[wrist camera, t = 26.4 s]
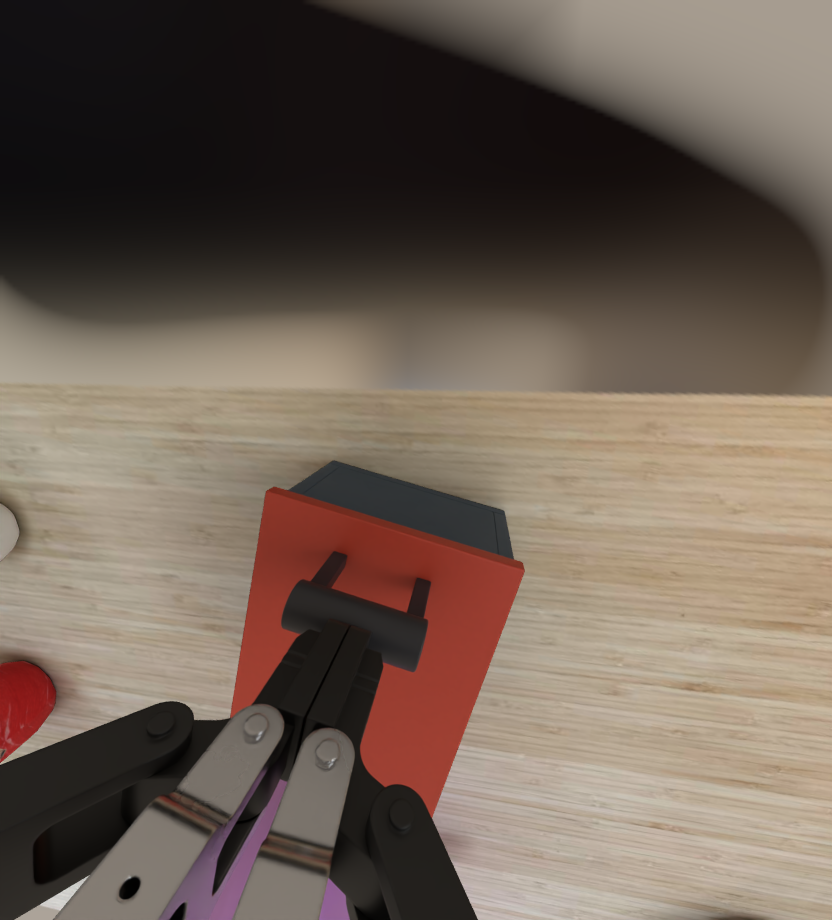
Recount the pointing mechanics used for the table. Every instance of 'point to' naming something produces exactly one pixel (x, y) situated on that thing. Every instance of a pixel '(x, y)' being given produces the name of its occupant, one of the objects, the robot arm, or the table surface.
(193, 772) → the robot arm
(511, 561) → the lunchbox lid
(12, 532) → the apple
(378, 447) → the table surface
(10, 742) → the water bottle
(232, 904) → the teapot
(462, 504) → the box
